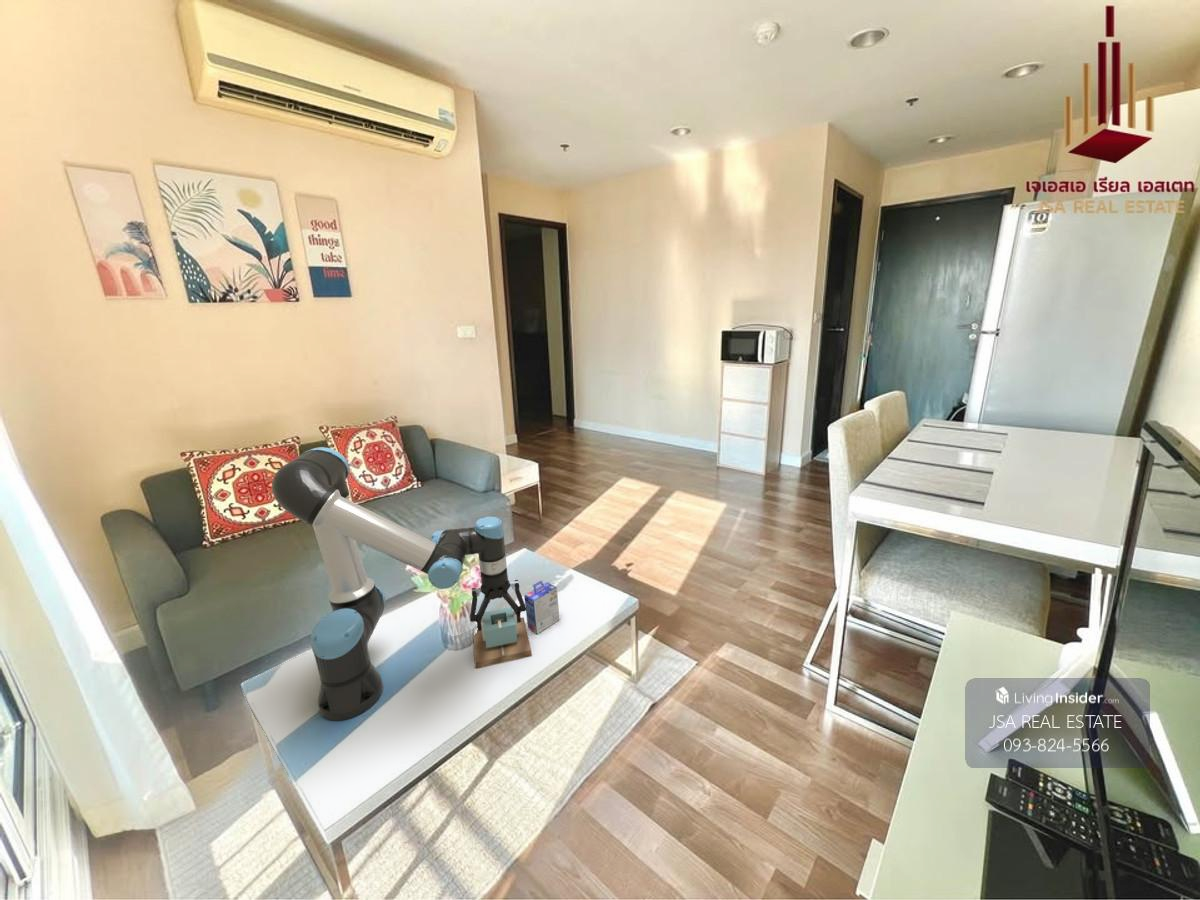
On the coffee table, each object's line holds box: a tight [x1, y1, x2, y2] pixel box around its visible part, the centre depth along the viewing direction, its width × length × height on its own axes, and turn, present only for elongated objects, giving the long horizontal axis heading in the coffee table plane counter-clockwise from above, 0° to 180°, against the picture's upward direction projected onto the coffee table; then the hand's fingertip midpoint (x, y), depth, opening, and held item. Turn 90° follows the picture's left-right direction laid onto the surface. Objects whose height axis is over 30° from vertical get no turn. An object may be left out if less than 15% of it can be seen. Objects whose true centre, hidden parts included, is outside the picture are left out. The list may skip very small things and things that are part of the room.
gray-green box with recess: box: [483, 606, 517, 648], centre depth 139 cm, size 9×9×6 cm
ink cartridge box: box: [523, 580, 560, 635], centre depth 148 cm, size 10×6×14 cm, turn 137°
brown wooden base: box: [473, 616, 533, 669], centre depth 140 cm, size 16×16×8 cm
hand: (500, 634), depth 140 cm, fingers closed on gray-green box with recess, 9 cm apart
